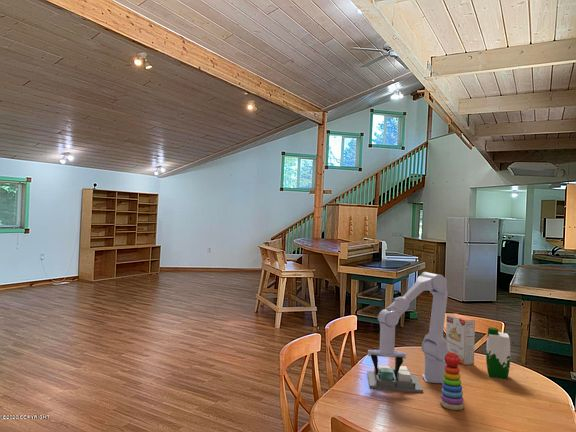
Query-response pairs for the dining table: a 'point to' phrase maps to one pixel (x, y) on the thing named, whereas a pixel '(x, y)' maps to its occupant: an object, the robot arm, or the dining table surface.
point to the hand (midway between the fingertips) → (386, 375)
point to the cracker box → (461, 337)
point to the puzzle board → (395, 380)
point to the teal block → (386, 374)
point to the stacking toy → (452, 384)
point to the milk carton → (498, 354)
